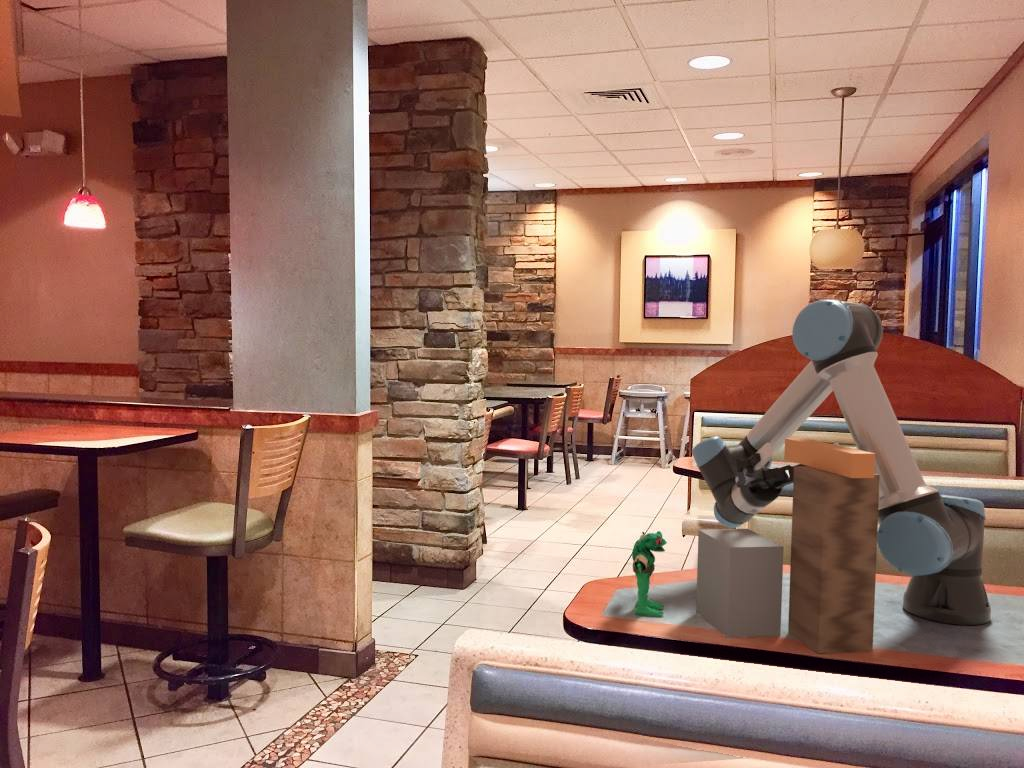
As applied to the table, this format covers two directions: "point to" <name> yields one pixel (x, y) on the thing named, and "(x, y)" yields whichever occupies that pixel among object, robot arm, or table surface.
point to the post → (833, 560)
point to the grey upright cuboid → (739, 582)
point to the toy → (646, 571)
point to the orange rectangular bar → (830, 457)
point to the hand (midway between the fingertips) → (804, 449)
